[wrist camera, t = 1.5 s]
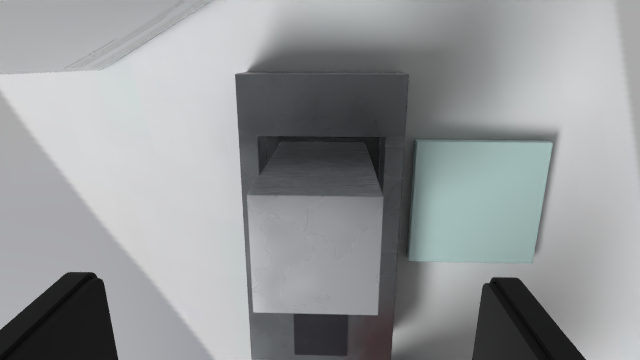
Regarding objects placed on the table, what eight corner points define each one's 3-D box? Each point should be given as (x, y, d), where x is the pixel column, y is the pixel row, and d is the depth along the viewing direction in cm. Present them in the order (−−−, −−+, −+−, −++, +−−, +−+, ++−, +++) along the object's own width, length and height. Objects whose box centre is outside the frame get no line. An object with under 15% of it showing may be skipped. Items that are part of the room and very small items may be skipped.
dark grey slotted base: (385, 334, 26) (390, 364, 23) (259, 331, 26) (251, 360, 24) (400, 72, 21) (408, 74, 19) (246, 71, 21) (234, 74, 19)
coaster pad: (527, 258, 24) (532, 263, 23) (407, 256, 24) (408, 261, 24) (547, 140, 22) (553, 142, 21) (415, 139, 22) (417, 141, 22)
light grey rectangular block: (362, 220, 24) (377, 315, 15) (283, 219, 24) (253, 312, 15) (364, 142, 22) (383, 197, 14) (280, 141, 22) (246, 195, 14)
